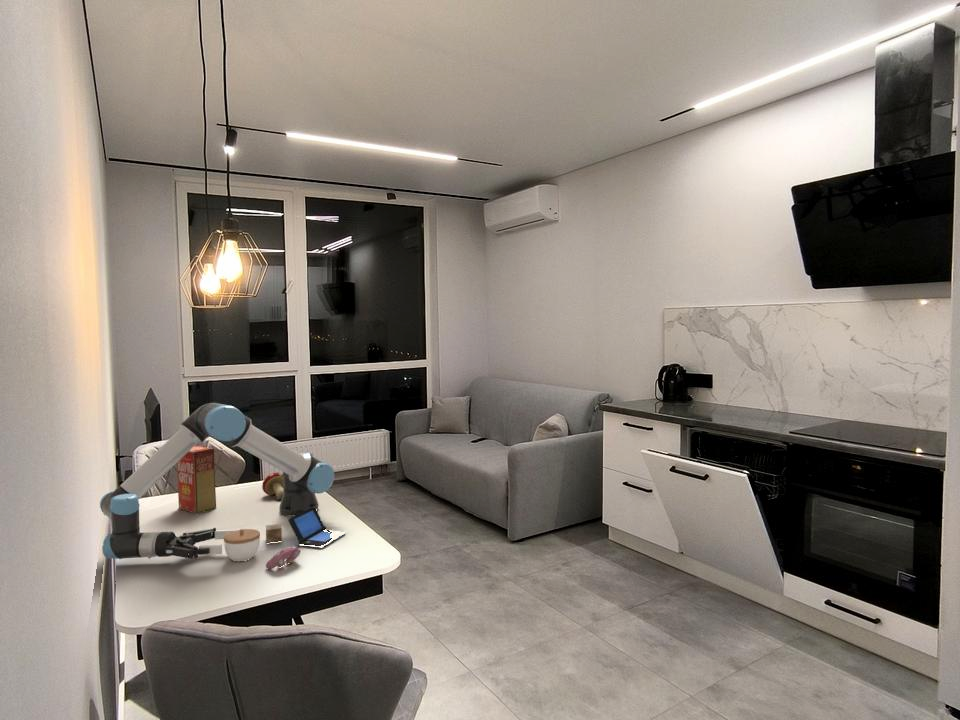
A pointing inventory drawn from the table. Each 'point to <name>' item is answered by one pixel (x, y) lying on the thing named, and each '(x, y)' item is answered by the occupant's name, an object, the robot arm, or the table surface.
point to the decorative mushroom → (274, 485)
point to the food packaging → (197, 480)
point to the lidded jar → (242, 544)
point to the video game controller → (283, 557)
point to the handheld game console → (309, 528)
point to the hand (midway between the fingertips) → (229, 541)
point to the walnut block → (273, 533)
